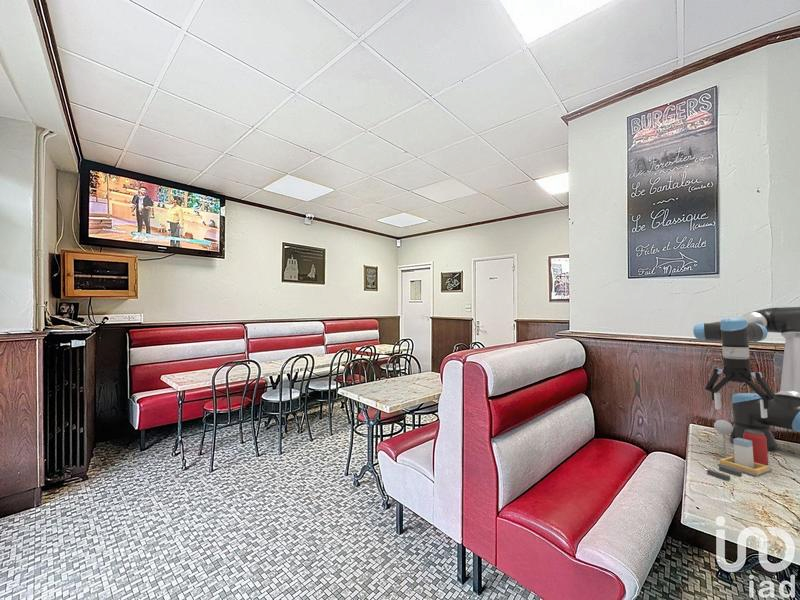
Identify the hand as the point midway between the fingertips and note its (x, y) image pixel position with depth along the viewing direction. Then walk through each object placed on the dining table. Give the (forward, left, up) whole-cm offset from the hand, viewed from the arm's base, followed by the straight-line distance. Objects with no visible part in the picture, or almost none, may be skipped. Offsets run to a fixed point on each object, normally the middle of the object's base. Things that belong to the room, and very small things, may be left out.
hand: (740, 413), depth 132 cm
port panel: (0, 0, -21) cm, 21 cm away
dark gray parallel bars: (+14, 0, -21) cm, 25 cm away
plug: (0, 0, -20) cm, 20 cm away
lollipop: (-8, -9, -21) cm, 24 cm away
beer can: (-12, -1, -21) cm, 24 cm away
